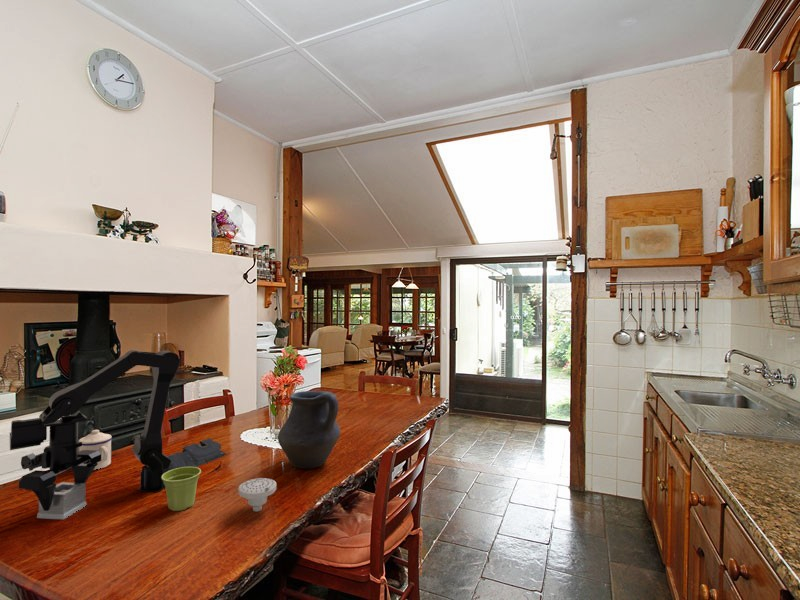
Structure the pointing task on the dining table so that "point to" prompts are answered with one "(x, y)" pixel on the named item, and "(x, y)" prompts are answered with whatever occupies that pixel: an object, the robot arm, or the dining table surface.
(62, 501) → the collar
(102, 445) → the teacup with lid
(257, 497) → the showerhead
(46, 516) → the shaft base
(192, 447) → the dark slate chunk
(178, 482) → the plant pot
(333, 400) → the pitcher
